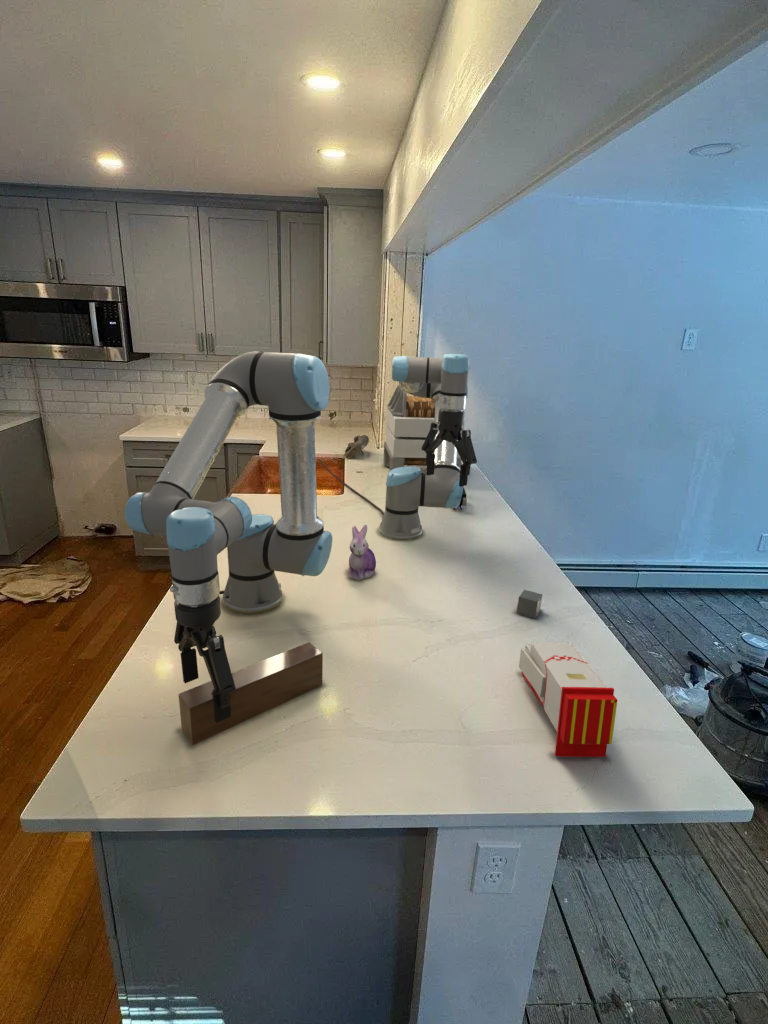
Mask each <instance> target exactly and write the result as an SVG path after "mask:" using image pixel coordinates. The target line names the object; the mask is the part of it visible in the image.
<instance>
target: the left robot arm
mask: <svg viewBox="0 0 768 1024" xmlns="http://www.w3.org/2000/svg"><path fill="white" fill-rule="evenodd" d="M330 387H331V386H330V379H329V374H328V371H327V368H326V366H325V364H324V362H323V361H322V360H321V359H320V358H319V357H317V356H315V355H309V354H302V353H294V352H293V353H292V352H272V351H271V352H269V351H260V350H259V351H258V350H257V351H255V350H253V351H247V352H245V353H241V354H239V355H238V356H236V357H234V358H233V359H231V360H229V362H227V363H225V364H224V365H223V366H222V367H221V368H220V369H219V370H218V371H217V372H215V373H214V375H213V376H212V378H211V379H210V381H208V384H207V386H206V387H205V389H204V392H203V393H204V400H203V402H202V404H201V405H200V407H199V408H198V409H197V410H198V411H197V412H196V413H195V415H194V417H193V419H192V420H191V422H190V423H189V425H188V428H187V429H186V431H185V432H184V434H183V436H182V437H181V439H180V441H179V442H178V444H177V446H176V448H175V449H174V451H173V453H172V454H171V456H170V458H169V460H168V461H167V463H166V464H165V466H164V468H163V470H162V471H161V473H160V475H159V476H158V478H157V480H156V481H155V483H154V484H153V486H152V487H151V489H150V490H149V492H147V491H144V492H136V493H134V495H131V496H130V497H129V498H128V500H127V502H126V505H125V509H124V519H125V523H126V524H127V526H128V527H129V528H130V530H132V531H134V532H137V533H141V534H145V535H149V536H161V537H165V542H166V544H167V549H168V551H167V552H168V557H169V565H170V571H171V572H170V576H171V583H172V584H171V585H172V586H170V587H169V591H170V592H171V593H173V595H172V596H173V599H174V602H173V604H174V606H173V608H174V616H175V620H176V625H175V632H174V637H173V642H174V643H175V645H178V646H177V648H178V650H179V652H180V662H181V673H182V678H183V679H182V681H183V683H184V684H187V683H190V682H193V681H195V680H197V679H199V667H198V657H197V654H198V656H199V657H202V658H203V661H204V663H205V667H206V669H207V673H208V675H209V678H210V681H212V684H213V686H214V690H212V693H211V694H212V696H213V705H214V716H215V722H216V723H218V722H220V721H222V720H225V719H227V718H229V717H231V708H230V695H229V693H231V692H233V691H235V690H236V687H235V684H234V680H233V677H232V669H231V666H230V662H229V658H228V655H227V651H226V645H225V638H224V636H223V634H218V635H217V631H216V628H215V626H214V625H215V624H216V622H217V620H219V619H220V617H221V615H222V606H221V596H220V595H222V603H223V607H224V608H225V609H226V610H227V611H230V612H232V613H235V614H239V615H258V614H259V615H260V614H263V613H267V612H270V611H272V610H274V609H276V608H278V606H280V605H281V603H282V601H283V591H282V585H281V582H279V580H278V578H277V575H276V573H275V572H280V573H287V574H293V575H294V574H295V575H301V577H305V576H308V577H317V576H319V575H321V574H322V573H323V571H324V570H325V568H326V567H327V564H328V562H329V559H330V556H331V552H332V547H333V535H332V533H331V532H330V531H329V530H325V529H324V520H323V519H322V518H320V517H319V516H318V501H317V500H318V499H317V498H318V497H317V465H316V463H317V462H316V461H317V460H316V431H315V430H316V429H315V428H316V427H315V423H316V422H317V421H318V420H319V419H320V417H321V416H322V411H325V410H326V408H327V407H328V405H329V402H330V393H331V388H330ZM257 405H258V406H267V408H268V418H269V419H270V420H272V421H273V422H274V423H275V424H276V425H275V426H276V441H277V442H276V443H277V457H278V458H277V460H278V461H277V462H278V475H279V492H280V493H279V495H280V510H281V518H279V519H278V520H277V522H276V523H275V520H274V518H273V516H272V515H269V514H264V513H263V514H262V513H257V514H252V510H251V508H250V505H248V503H247V502H245V500H243V499H242V498H239V497H236V496H227V497H224V498H221V499H219V500H217V501H209V500H202V499H201V500H200V499H195V497H196V495H197V494H198V491H199V490H200V487H201V486H202V483H203V482H204V480H205V479H206V476H207V474H208V473H209V471H210V469H211V467H212V465H213V464H214V462H215V460H216V458H217V456H218V454H219V452H220V450H221V449H222V447H223V445H224V444H225V441H226V440H227V438H228V435H229V434H230V432H231V430H232V429H233V426H234V425H235V423H236V420H237V419H238V417H242V416H243V415H245V414H246V412H247V411H248V409H249V407H252V406H257ZM275 524H276V525H275ZM225 549H227V550H226V551H227V566H228V578H227V581H226V584H225V587H224V589H223V590H221V588H220V574H219V569H218V568H219V567H218V555H219V554H220V553H222V552H223V551H224V550H225Z"/></svg>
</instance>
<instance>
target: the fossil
mask: <svg viewBox="0 0 768 1024" xmlns="http://www.w3.org/2000/svg"><path fill="white" fill-rule="evenodd" d="M369 443H370V438H369V435H366V434H362V435H360V434H359V435H355V436H354V437H353V442H349V443H348V444H347V447H346V448H345V449H344V450H345V451H344V457H345V458H347V459H351V458H353V457H356V456H357V455H358V454H359V453H361V454H362V455H364V454H365V453H364V452H363V450H364V449H365V447H367V446H368V444H369Z"/></svg>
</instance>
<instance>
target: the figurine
mask: <svg viewBox="0 0 768 1024" xmlns="http://www.w3.org/2000/svg"><path fill="white" fill-rule="evenodd" d="M351 528H352V529H351V534H352V539H351V541H350V543H349V551H350V552H351V553H350V555H349V558H348V567H349V568H348V571H347V572H348V574H349V576H348V577H349V578H350V579H354V580H363V579H368V578H370V577H372V576H373V575H374V574H375V571H376V566H377V560H376V555H375V553H374V552H373V550H372V549H371V548H369V547H370V545H369V542H368V541H367V539H366V536H367V533H368V525H367V524H365V525H363V527H362V528H361V529H360V531H359V529H358V528H357V526H356V525H353V526H352V527H351Z"/></svg>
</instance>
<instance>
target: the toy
mask: <svg viewBox="0 0 768 1024" xmlns="http://www.w3.org/2000/svg"><path fill="white" fill-rule="evenodd" d="M518 668H519V670H520V671H521V675H522V677H523V678H524V680H525V681H526V683H527V684H528V686H529V687H530V689H531V691H532V692H533V693H534V696H535V697H536V699H537V700H538V702H539V703H540V705H541V706H542V707H543V711H544V712H545V713H546V715H547V717H548V719H549V721H550V722H551V724H552V726H553V727H554V730H555V732H556V739H555V748H554V749H555V750H554V756H555V757H561V758H562V757H563V758H564V757H567V758H568V757H569V758H570V757H571V758H573V757H574V758H576V757H577V758H606V757H607V749H608V745H613V739H614V738H613V737H614V729H615V724H616V723H615V722H616V714H617V707H618V698H617V697H616V696H615V695H614V694H615V688H614V687H607V685H606V684H605V682H604V681H603V680H602V679H601V678H600V677H599V675H598V673H596V672H595V670H594V669H593V668H592V666H590V664H589V663H588V662H587V660H586V659H585V658H584V657H583V655H582V654H581V653H580V652H579V651H578V649H577V648H576V647H575V646H574V645H573V643H572V642H531V643H525V644H524V648H520V655H519V662H518Z"/></svg>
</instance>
